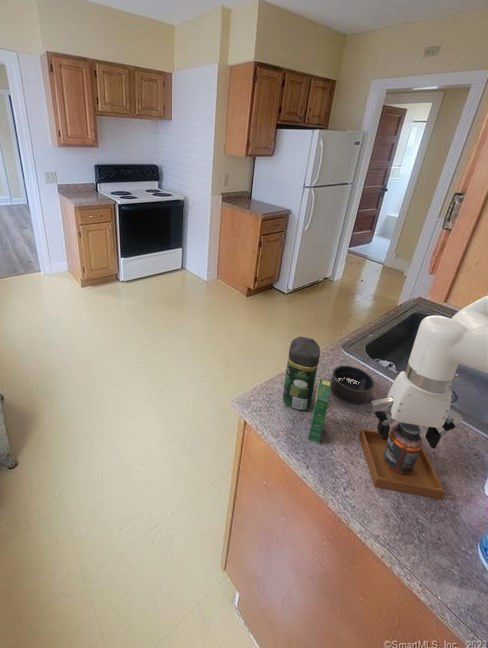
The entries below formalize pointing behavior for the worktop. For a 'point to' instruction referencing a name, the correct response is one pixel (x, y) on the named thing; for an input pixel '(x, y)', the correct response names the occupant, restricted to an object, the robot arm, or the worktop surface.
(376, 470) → the tray
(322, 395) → the coffee box
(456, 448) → the worktop surface
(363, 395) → the bowl
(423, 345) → the robot arm
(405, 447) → the supplement bottle
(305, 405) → the coffee jar
